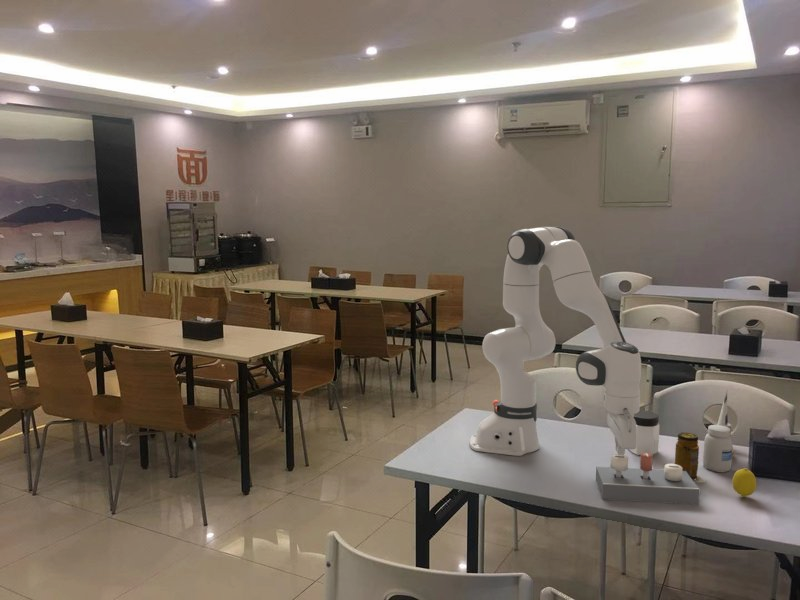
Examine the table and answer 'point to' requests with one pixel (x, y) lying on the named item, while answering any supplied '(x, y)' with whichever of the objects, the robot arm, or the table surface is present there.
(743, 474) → the lemon
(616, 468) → the knob
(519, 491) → the table surface
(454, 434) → the table surface
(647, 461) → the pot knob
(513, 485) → the table surface
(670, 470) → the knob
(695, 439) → the condiment
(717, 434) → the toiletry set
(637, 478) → the mount
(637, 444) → the jar
